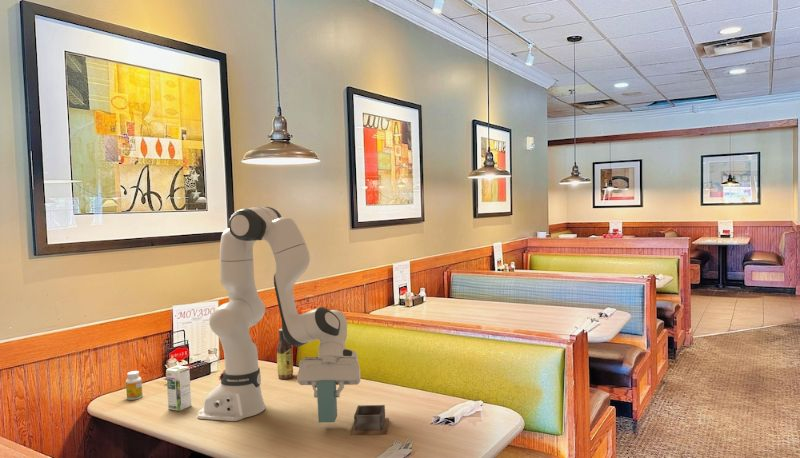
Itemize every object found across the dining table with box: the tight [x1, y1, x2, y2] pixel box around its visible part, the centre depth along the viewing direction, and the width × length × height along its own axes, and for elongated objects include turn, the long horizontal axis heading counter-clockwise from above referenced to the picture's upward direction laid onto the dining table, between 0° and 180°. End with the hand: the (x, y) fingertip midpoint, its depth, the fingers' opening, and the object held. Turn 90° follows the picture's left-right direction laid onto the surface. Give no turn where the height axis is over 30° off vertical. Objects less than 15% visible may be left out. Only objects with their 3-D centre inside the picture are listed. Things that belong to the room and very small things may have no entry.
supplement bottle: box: [125, 370, 144, 401], centre depth 208 cm, size 5×5×10 cm
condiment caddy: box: [350, 404, 390, 436], centre depth 171 cm, size 11×10×6 cm
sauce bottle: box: [276, 328, 294, 380], centre depth 224 cm, size 6×6×20 cm
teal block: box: [316, 380, 338, 423], centre depth 172 cm, size 5×5×12 cm
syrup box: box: [165, 365, 192, 412], centre depth 196 cm, size 6×6×14 cm
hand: (326, 396), depth 171 cm, fingers closed on teal block, 5 cm apart
